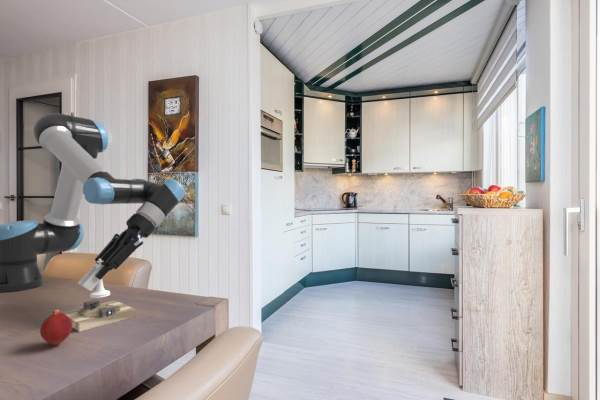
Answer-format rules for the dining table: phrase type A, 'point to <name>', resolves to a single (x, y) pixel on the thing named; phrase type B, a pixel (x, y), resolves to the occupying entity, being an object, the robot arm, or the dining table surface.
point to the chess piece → (99, 287)
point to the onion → (56, 328)
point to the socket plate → (99, 314)
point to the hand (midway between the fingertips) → (84, 287)
